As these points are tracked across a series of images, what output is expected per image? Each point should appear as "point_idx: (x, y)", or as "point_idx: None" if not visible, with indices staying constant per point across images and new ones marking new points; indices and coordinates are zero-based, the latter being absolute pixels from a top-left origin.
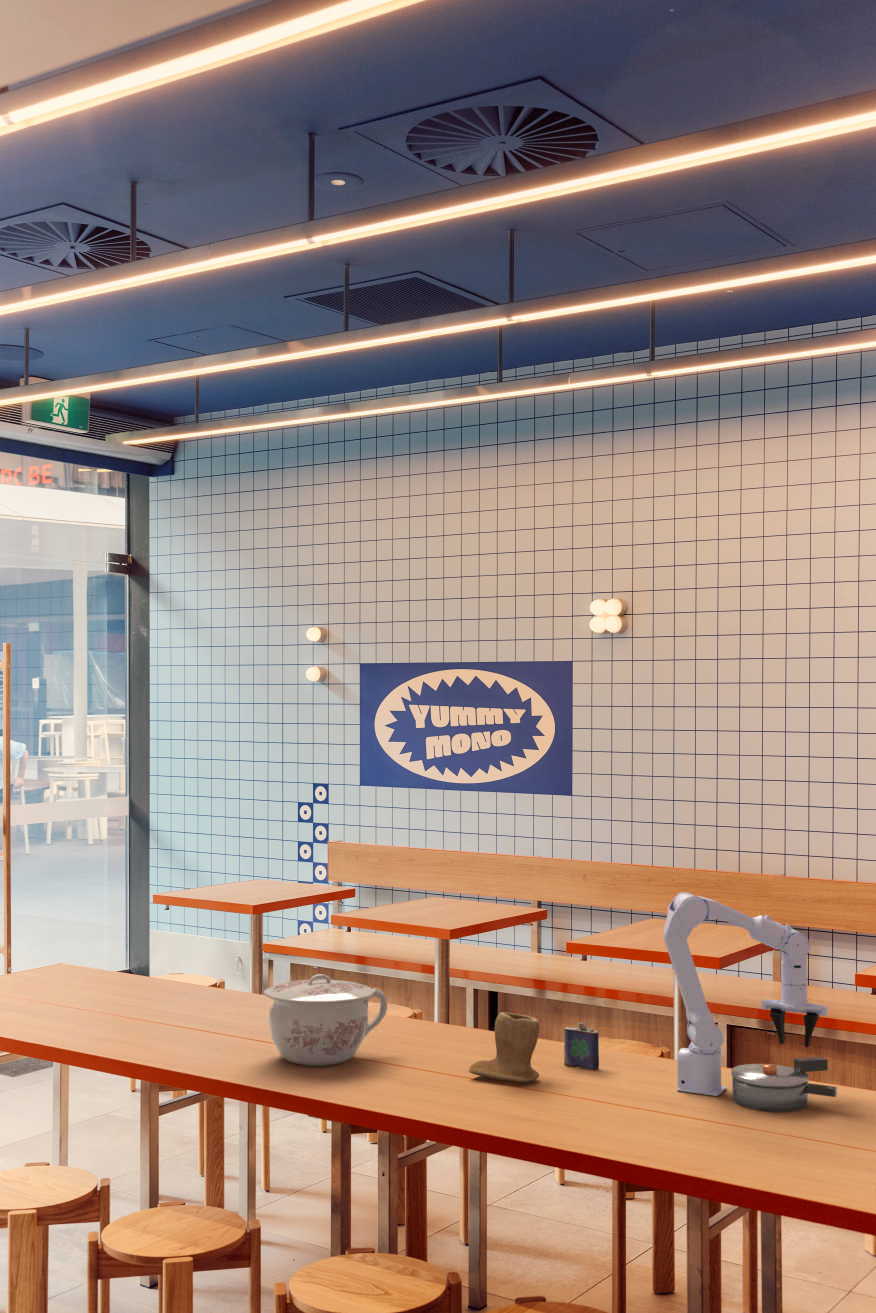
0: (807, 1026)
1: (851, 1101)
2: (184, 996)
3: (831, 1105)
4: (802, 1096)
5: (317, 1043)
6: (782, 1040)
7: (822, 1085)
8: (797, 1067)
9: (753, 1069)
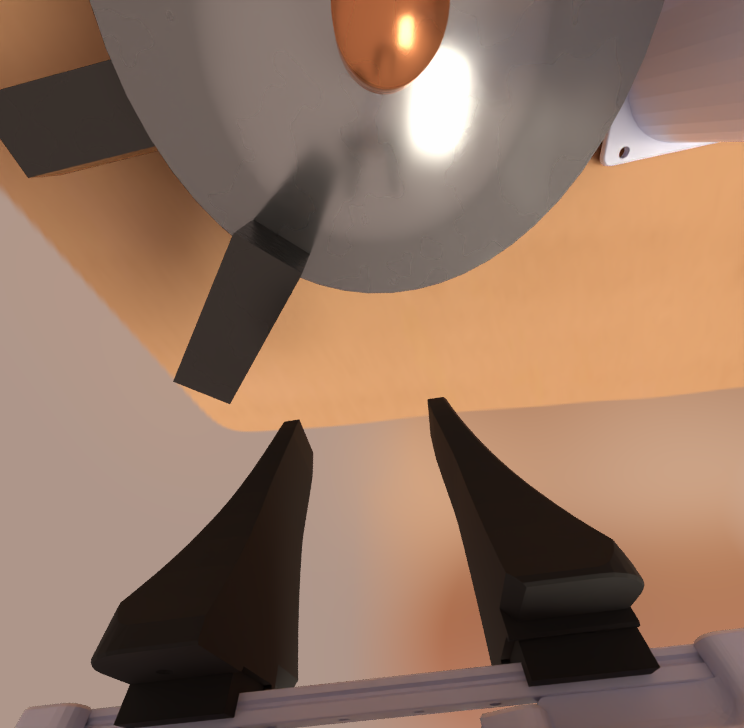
0: (229, 533)
1: (173, 324)
2: None
3: (173, 226)
4: None
5: None
6: (431, 411)
7: (90, 148)
8: (276, 241)
9: (515, 56)
